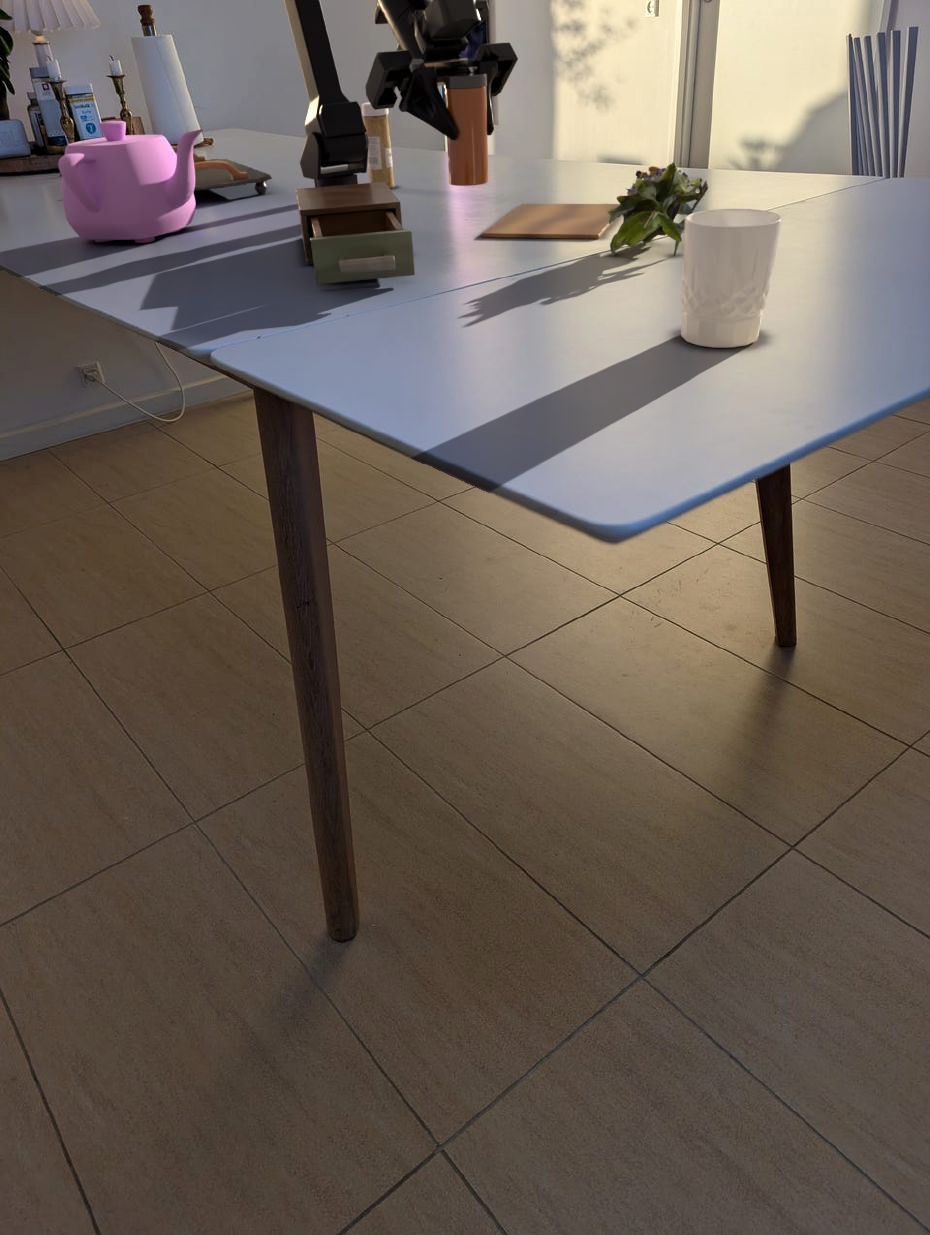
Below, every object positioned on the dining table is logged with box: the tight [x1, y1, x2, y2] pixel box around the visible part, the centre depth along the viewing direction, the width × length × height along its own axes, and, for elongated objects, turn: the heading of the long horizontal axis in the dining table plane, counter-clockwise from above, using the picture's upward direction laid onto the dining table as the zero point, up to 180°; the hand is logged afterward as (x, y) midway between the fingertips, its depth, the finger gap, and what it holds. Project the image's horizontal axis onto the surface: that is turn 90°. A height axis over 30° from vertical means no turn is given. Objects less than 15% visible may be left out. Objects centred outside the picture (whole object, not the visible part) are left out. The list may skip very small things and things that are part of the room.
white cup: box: [680, 208, 783, 349], centre depth 77 cm, size 8×8×10 cm
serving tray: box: [171, 145, 273, 196], centre depth 167 cm, size 39×23×6 cm, turn 28°
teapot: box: [58, 120, 205, 244], centre depth 127 cm, size 23×21×15 cm
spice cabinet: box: [295, 182, 403, 266], centre depth 118 cm, size 17×12×6 cm
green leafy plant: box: [608, 161, 709, 257], centre depth 107 cm, size 11×11×12 cm
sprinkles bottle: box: [361, 101, 395, 189], centre depth 156 cm, size 5×5×14 cm
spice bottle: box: [442, 73, 490, 187], centre depth 104 cm, size 5×5×11 cm
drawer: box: [310, 209, 416, 285], centre depth 104 cm, size 21×11×5 cm, turn 11°
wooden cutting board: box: [481, 203, 620, 240], centre depth 127 cm, size 16×22×1 cm
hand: (473, 135), depth 104 cm, fingers closed on spice bottle, 5 cm apart
